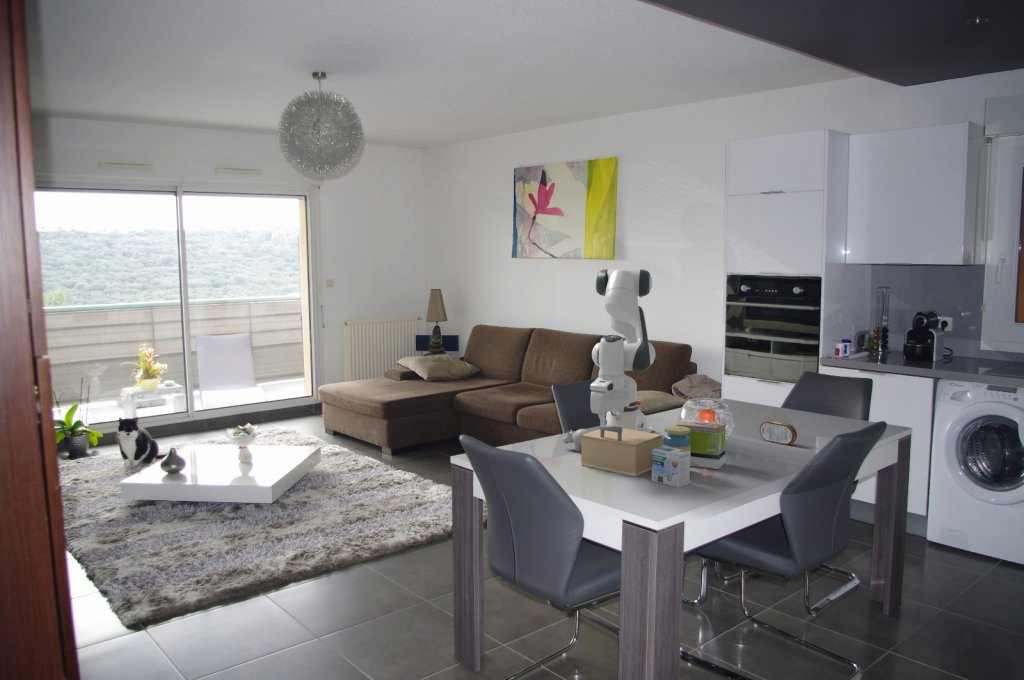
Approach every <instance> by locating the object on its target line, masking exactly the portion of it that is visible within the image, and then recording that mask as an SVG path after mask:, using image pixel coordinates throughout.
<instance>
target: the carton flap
mask: <svg viewBox="0 0 1024 680" xmlns="http://www.w3.org/2000/svg"><path fill="white" fill-rule="evenodd" d="M581 437H583V438H588V439H594V440H599V441H605V442H610V443H616V444H621V445H627V446H633V447H637V446H640V445H642V444H645V443H648V442H650V441H653V440H656V439H658V438H661V437H662V438H663V434H659V433H652V432H650V433H648V432H642V431H636V430H630V429H624V428H622V427H617V426H611V425H601V424H600V425H599V429H596V430H592V431H589V433H586V434H583V435H581Z"/></svg>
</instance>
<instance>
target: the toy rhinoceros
mask: <svg viewBox="0 0 1024 680" xmlns="http://www.w3.org/2000/svg"><path fill="white" fill-rule="evenodd" d="M589 432H590V431H589V430H588V429H585V428H579V429H577V430H576V431H575V432H574V431H573V429H570V431H566V435H565V434H564V433H563V434H562V441H563V443H564V444H567V445H568V444H569V443H571V444H573V443H574V445H575V446H574V452H576V453H581V435H583V434H586V433H589Z"/></svg>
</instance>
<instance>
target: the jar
mask: <svg viewBox="0 0 1024 680" xmlns="http://www.w3.org/2000/svg"><path fill="white" fill-rule="evenodd" d="M664 433H667V434H665V435H664V436H663V446H667V447H672V448H677V449H681V450H686V451H690V456H691V437H690V436H689V435H687V434H689V433H690V428H687V427H683V426H677V425H670V426H666V427H665V428H664Z"/></svg>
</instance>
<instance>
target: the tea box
mask: <svg viewBox="0 0 1024 680" xmlns="http://www.w3.org/2000/svg"><path fill="white" fill-rule="evenodd" d="M676 426H683V427H687V428H690V433H689V434H687V435H689V436H690V437H691V456H690V467H697V468H698V467H700V468H705V469H712V470H718V469H720V468H721V467H722V466H723V465H724V464H725V463H726V423H725V422H715V421H706V420H705V421H704V420H702V421H701V420H692V419H684V420H682V421H680V422H679V423H677V424H676Z"/></svg>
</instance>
